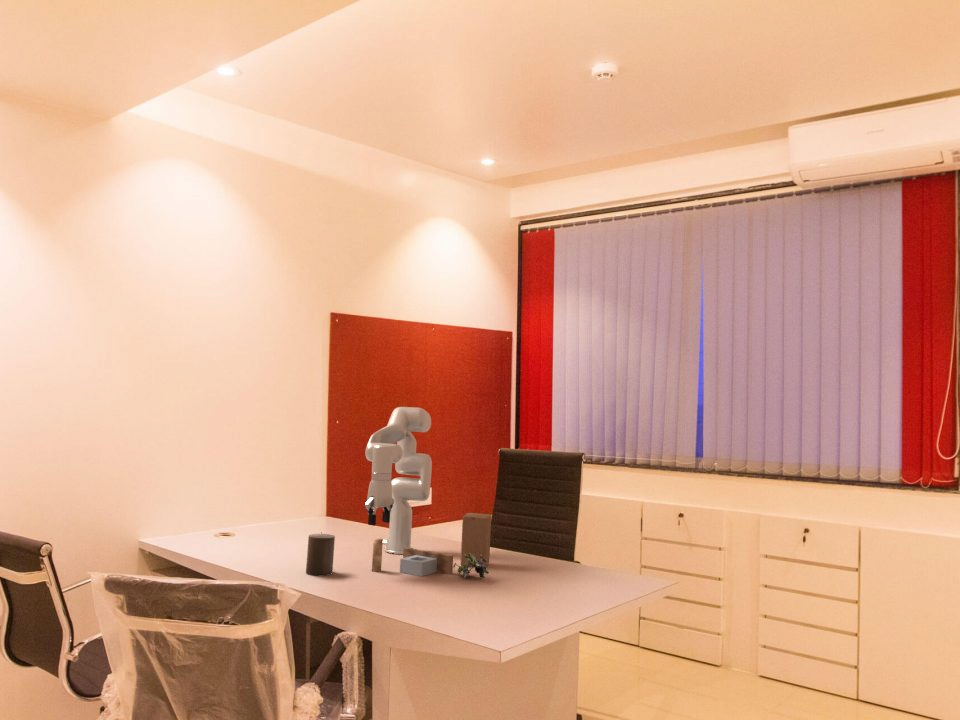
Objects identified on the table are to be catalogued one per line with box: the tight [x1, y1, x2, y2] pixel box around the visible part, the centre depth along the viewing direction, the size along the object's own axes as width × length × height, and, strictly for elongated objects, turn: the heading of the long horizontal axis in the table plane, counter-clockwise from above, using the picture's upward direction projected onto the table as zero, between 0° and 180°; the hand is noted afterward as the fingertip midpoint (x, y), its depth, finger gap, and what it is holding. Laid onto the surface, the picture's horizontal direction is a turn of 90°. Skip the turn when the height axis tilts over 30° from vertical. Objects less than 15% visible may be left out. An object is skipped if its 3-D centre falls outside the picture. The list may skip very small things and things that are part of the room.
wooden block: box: [459, 512, 492, 568], centre depth 311 cm, size 10×10×20 cm
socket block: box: [399, 555, 438, 577], centre depth 292 cm, size 10×10×5 cm
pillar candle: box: [305, 532, 336, 576], centre depth 285 cm, size 10×10×15 cm
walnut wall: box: [402, 547, 454, 575], centre depth 297 cm, size 22×2×7 cm, turn 59°
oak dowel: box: [371, 538, 384, 573], centre depth 291 cm, size 4×4×12 cm
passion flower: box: [453, 553, 490, 580], centre depth 286 cm, size 11×11×12 cm
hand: (378, 523), depth 292 cm, fingers open, 8 cm apart
